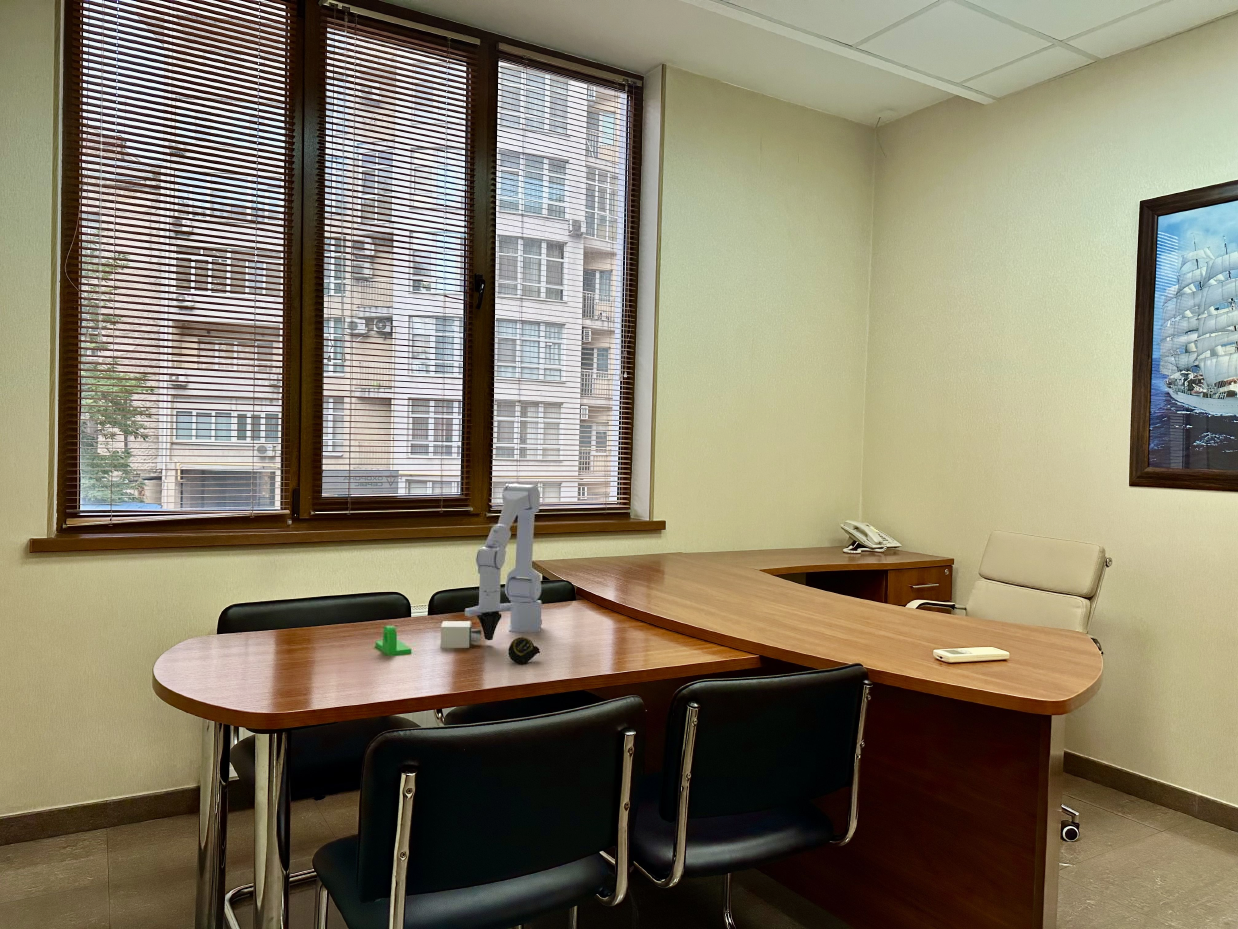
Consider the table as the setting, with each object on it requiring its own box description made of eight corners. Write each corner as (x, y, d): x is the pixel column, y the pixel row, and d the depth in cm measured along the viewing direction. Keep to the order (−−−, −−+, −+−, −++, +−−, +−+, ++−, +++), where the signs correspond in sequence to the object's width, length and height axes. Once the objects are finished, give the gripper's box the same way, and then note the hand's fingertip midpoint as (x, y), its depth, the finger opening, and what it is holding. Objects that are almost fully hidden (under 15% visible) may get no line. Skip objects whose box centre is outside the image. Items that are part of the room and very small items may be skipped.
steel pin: (481, 640, 241) (481, 628, 241) (480, 643, 237) (481, 630, 237) (448, 640, 240) (448, 628, 240) (447, 644, 236) (447, 630, 236)
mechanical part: (411, 656, 228) (412, 626, 227) (388, 659, 224) (389, 628, 224) (397, 646, 238) (397, 617, 237) (375, 648, 235) (375, 619, 234)
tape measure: (520, 671, 219) (523, 664, 217) (501, 653, 221) (504, 645, 218) (538, 656, 224) (542, 649, 221) (519, 638, 226) (523, 630, 223)
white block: (471, 643, 242) (472, 621, 242) (470, 649, 235) (470, 626, 235) (442, 643, 241) (443, 621, 241) (440, 649, 234) (441, 626, 234)
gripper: (503, 585, 247) (502, 633, 247) (459, 590, 237) (458, 640, 237) (517, 589, 241) (516, 638, 242) (473, 594, 232) (472, 645, 232)
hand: (488, 639), depth 239 cm, fingers closed
